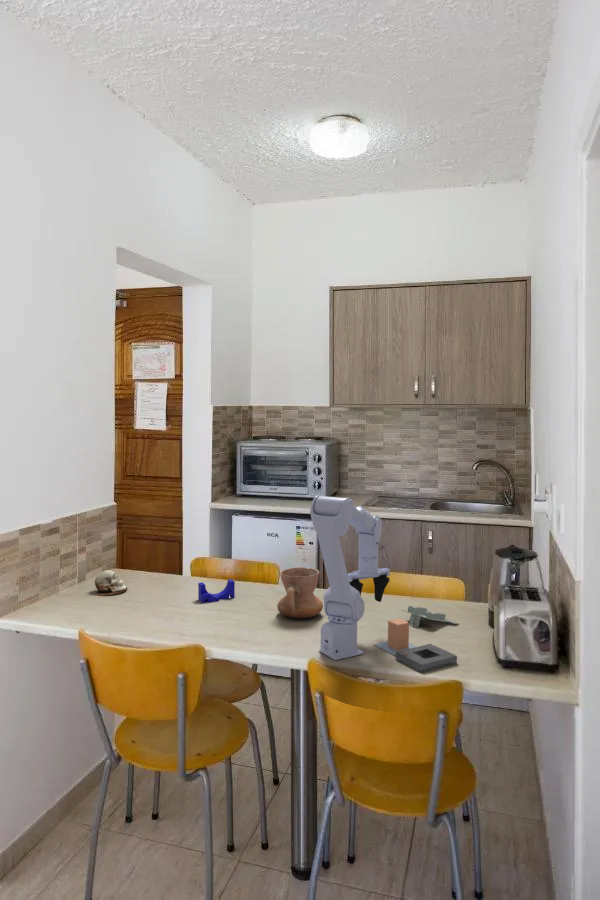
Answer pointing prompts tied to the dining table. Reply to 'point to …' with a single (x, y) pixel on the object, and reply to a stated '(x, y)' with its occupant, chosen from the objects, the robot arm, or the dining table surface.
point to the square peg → (398, 634)
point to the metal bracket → (424, 615)
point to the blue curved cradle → (224, 594)
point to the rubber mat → (391, 650)
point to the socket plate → (434, 661)
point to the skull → (109, 583)
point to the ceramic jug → (300, 593)
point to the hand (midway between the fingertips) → (367, 602)
